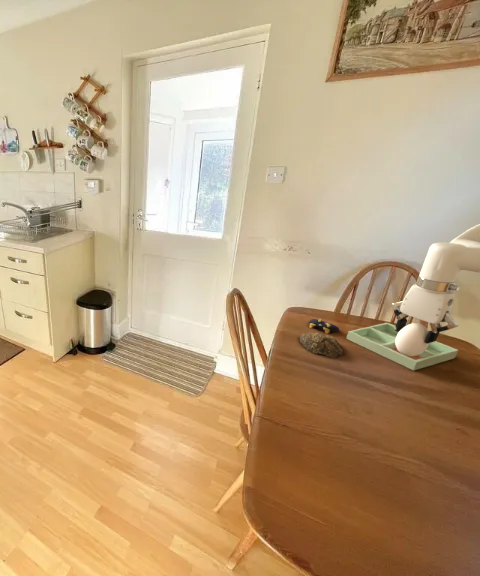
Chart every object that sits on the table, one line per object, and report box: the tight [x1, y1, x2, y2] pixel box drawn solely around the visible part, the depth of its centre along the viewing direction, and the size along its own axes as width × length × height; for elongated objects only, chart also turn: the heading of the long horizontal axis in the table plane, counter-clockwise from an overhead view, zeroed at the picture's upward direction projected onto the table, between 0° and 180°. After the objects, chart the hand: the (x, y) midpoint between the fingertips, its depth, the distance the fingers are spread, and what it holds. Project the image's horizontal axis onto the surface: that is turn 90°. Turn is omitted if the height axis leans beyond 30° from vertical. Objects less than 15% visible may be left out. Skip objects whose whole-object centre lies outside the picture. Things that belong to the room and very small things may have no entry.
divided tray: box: [345, 322, 459, 371], centre depth 108 cm, size 20×20×4 cm
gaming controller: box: [308, 318, 340, 334], centre depth 122 cm, size 10×5×6 cm
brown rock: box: [299, 332, 343, 358], centre depth 109 cm, size 13×12×5 cm
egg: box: [395, 322, 429, 357], centre depth 100 cm, size 7×7×12 cm
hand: (413, 336), depth 99 cm, fingers closed on egg, 7 cm apart
